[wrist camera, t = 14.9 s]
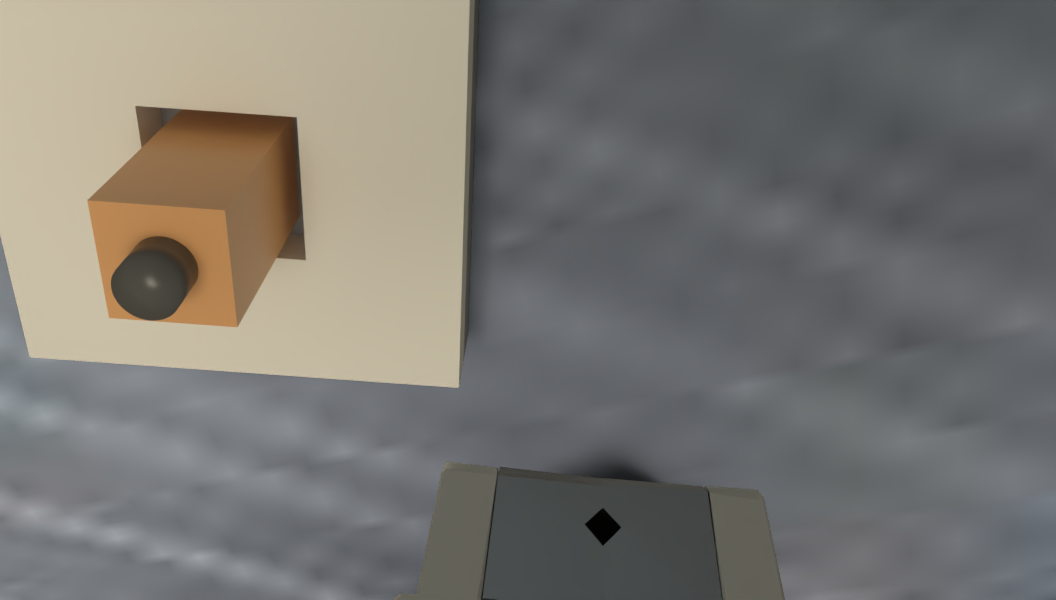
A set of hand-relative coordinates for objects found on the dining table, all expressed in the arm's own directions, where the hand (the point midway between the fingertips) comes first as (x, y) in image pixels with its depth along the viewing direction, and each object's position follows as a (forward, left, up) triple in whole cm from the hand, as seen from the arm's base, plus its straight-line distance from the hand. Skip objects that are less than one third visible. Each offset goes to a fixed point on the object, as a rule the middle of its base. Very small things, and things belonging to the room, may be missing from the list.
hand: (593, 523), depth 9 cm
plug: (+12, +8, -26) cm, 30 cm away
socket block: (+12, +8, -28) cm, 32 cm away
